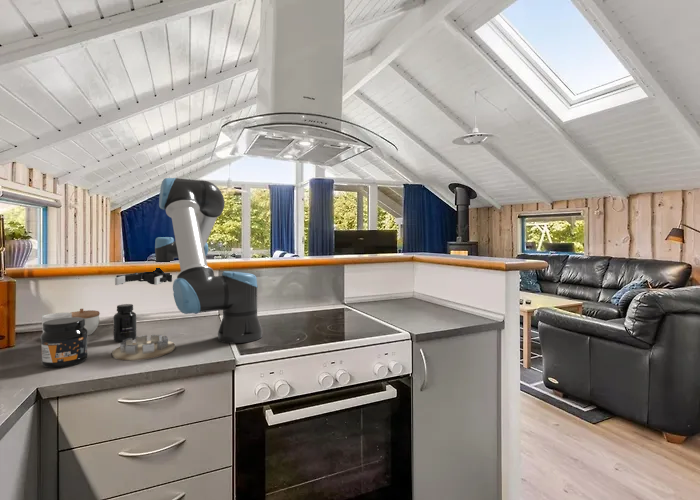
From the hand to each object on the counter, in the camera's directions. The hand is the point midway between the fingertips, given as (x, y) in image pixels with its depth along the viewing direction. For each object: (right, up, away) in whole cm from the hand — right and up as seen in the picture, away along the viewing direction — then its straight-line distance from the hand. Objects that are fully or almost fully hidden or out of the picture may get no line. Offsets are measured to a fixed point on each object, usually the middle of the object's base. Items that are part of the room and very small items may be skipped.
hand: (135, 281), depth 139 cm
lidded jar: (-18, -19, -3) cm, 26 cm away
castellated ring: (+15, -20, -22) cm, 33 cm away
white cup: (-16, -20, -16) cm, 30 cm away
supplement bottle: (+2, -20, -9) cm, 22 cm away
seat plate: (+15, -20, -22) cm, 33 cm away
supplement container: (-2, -21, -32) cm, 38 cm away
